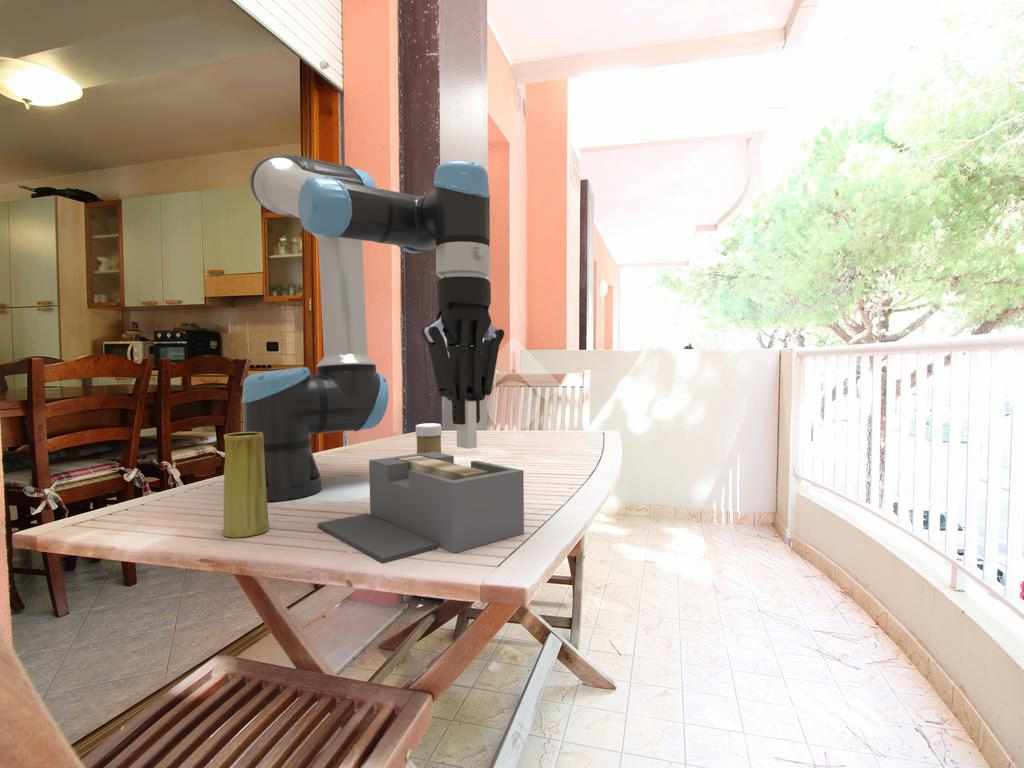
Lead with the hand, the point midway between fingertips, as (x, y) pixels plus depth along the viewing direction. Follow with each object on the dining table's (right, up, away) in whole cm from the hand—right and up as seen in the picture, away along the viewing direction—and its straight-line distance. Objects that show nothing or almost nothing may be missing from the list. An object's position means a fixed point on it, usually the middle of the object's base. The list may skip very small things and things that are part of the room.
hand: (466, 447), depth 78 cm
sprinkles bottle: (-8, -12, +21) cm, 25 cm away
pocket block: (-4, -12, +5) cm, 14 cm away
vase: (-32, -13, +3) cm, 35 cm away
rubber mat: (-13, -13, -1) cm, 18 cm away
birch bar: (-4, -6, +5) cm, 9 cm away
